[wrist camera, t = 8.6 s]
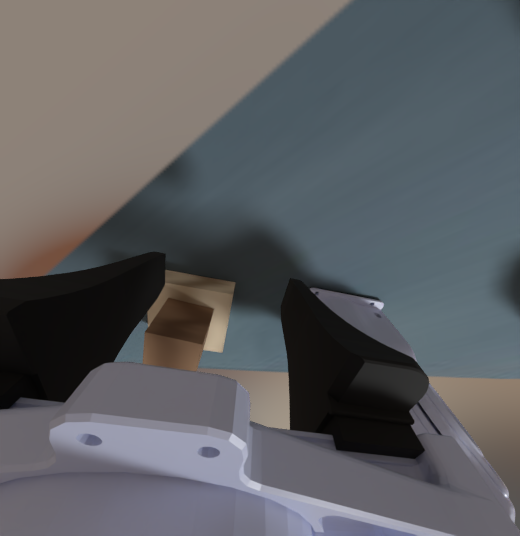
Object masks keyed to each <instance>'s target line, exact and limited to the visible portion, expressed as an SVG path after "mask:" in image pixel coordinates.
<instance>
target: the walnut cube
mask: <svg viewBox="0 0 520 536" xmlns="http://www.w3.org/2000/svg"><path fill="white" fill-rule="evenodd" d="M213 312H214V309H213V308H209V307H205V306H201V305H196V304H192V303H188V302H184V301H180V300H176V299H172V298H168V299H167V300H166V302H165V303H164V305H163V306H162V308H161V309H160V311H159V312H158V314H157V315H156V317H155V318H154V319H153V321H152V322H151V324H150V325H149V327H148V328H147V330H146V331H145V338H144V353H143V364H148V365H155V366H162V367H169V368H175V369H182V370H189V371H197V368H198V365H199V361H200V358H201V355H202V352H203V348H204V345H205V342H206V338H207V335H208V331H209V327H210V323H211V319H212V315H213Z"/></svg>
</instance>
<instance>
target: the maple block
mask: <svg viewBox="0 0 520 536" xmlns="http://www.w3.org/2000/svg"><path fill="white" fill-rule="evenodd" d="M235 283H236V282H230V281H225V280H219V279H214V278H208V277H203V276H197V275H192V274H186V273H181V272H175V271H170V270H165V286H164V288H163V289H162V291H161V293H160V295H159V297H158V298H157V300H156V301H155V302H154V304H153V305H152V306H151V308H150V309H149V310H148V327H149V325H150V324H151V322H152V321H153V319H154V318H155V317H156V315H157V314H158V312H159V311H160V309H161V308H162V306H163V305H164V303H165V302H166V300H167V299H168V298H172V299H176V300H180V301H184V302H188V303H192V304H196V305H201V306H205V307H209V308H213V309H214V312H213V315H212V319H211V323H210V327H209V331H208V335H207V338H206V342H205V345H204V348H203V350H208V351H215V352H221V353H222V352H223V347H224V342H225V337H226V331H227V326H228V320H229V315H230V310H231V304H232V299H233V294H234V288H235Z"/></svg>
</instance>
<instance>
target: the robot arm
mask: <svg viewBox="0 0 520 536" xmlns="http://www.w3.org/2000/svg"><path fill="white" fill-rule="evenodd" d="M164 286H165V254H164V253H159V252H150V253H146V254H142V255H139V256H136V257H132V258H129V259H126V260H122V261H119V262H115V263H111V264H108V265H104V266H100V267H96V268H91V269H87V270H81V271H76V272H70V273H63V274H55V275H48V276H39V277H28V278H15V279H0V536H520V531H519V530H518V528H517V527H516V525H515V524H514V523H515V509H514V506H513V504H512V503H511V501H510V499H509V498H508V497H509V491H508V489H507V488H506V486H505V485H504V483H503V481H502V480H501V479H500V477H499V476H498V474H497V473H496V472H495V470H494V469H493V467H492V466H491V465H490V464H489V462H488V461H487V460H486V459H485V457H484V456H483V454H482V451H481V450H480V449H479V447H478V446H477V444H476V443H475V442H474V440H473V439H472V437H471V436H470V435H469V433H468V432H467V431H466V429H465V428H464V427H463V425H462V424H461V423H460V422H459V420H458V419H457V418H456V416H455V415H454V414H453V413H452V411H451V410H450V409H449V407H448V406H447V405H446V404H445V402H444V401H443V400H442V398H441V397H440V396H439V395H438V393H437V392H436V391H435V390H434V388H433V387H432V386H431V385H430V383H429V379H428V377H427V375H426V374H425V373H424V371H423V370H422V369H421V367H420V366H419V365H418V363H417V361H416V357H415V354H414V352H413V350H412V348H411V347H410V345H409V344H408V342H407V341H406V340H405V339H404V338H403V336H402V335H401V334H400V333H399V331H398V330H397V329H396V328H395V327H394V325H393V324H392V323H391V322H390V320H389V319H388V318H387V317H386V316H385V314H384V313H383V312H382V311H381V309H382V308H383V306H384V303H383V302H382V301H380V300H375V299H369V298H364V297H359V296H354V295H349V294H344V293H338V292H333V291H328V290H323V289H318V288H310V289H309V288H308V287H307V286H306V285H305V284H304V283H303V282H302V281H300V280H297V279H291V278H290V280H289V283H288V286H287V289H286V292H285V295H284V298H283V301H282V304H281V322H282V328H283V334H284V340H285V345H286V351H287V359H288V373H289V394H290V430H287V429H278V428H270V427H266V426H263V425H260V424H258V423H255V422H251V421H250V397H249V392H248V391H246V389H245V388H243V387H242V386H241V385H240V384H239V383H238V382H237V381H236V380H233V379H230V378H227V377H224V376H221V375H217V374H210V373H203V372H196V371H189V370H182V369H175V368H169V367H162V366H155V365H148V364H141V363H134V362H114V360H115V358H116V357H117V355H118V353H119V352H120V350H121V348H122V347H123V345H124V343H125V342H126V340H127V338H128V337H129V335H130V334H131V333H132V331H133V330H134V328H135V327H136V326H137V324H138V323H139V322H140V321H141V319H142V318H143V317H144V315H145V314H146V313H147V312H148V310H149V309H150V308H151V306H152V305H153V304H154V302H155V301H156V300H157V298H158V297H159V295H160V293H161V291H162V289H163V288H164ZM315 292H318V293H317V294H315ZM372 302H373V303H372ZM370 303H372V304H370Z"/></svg>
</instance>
